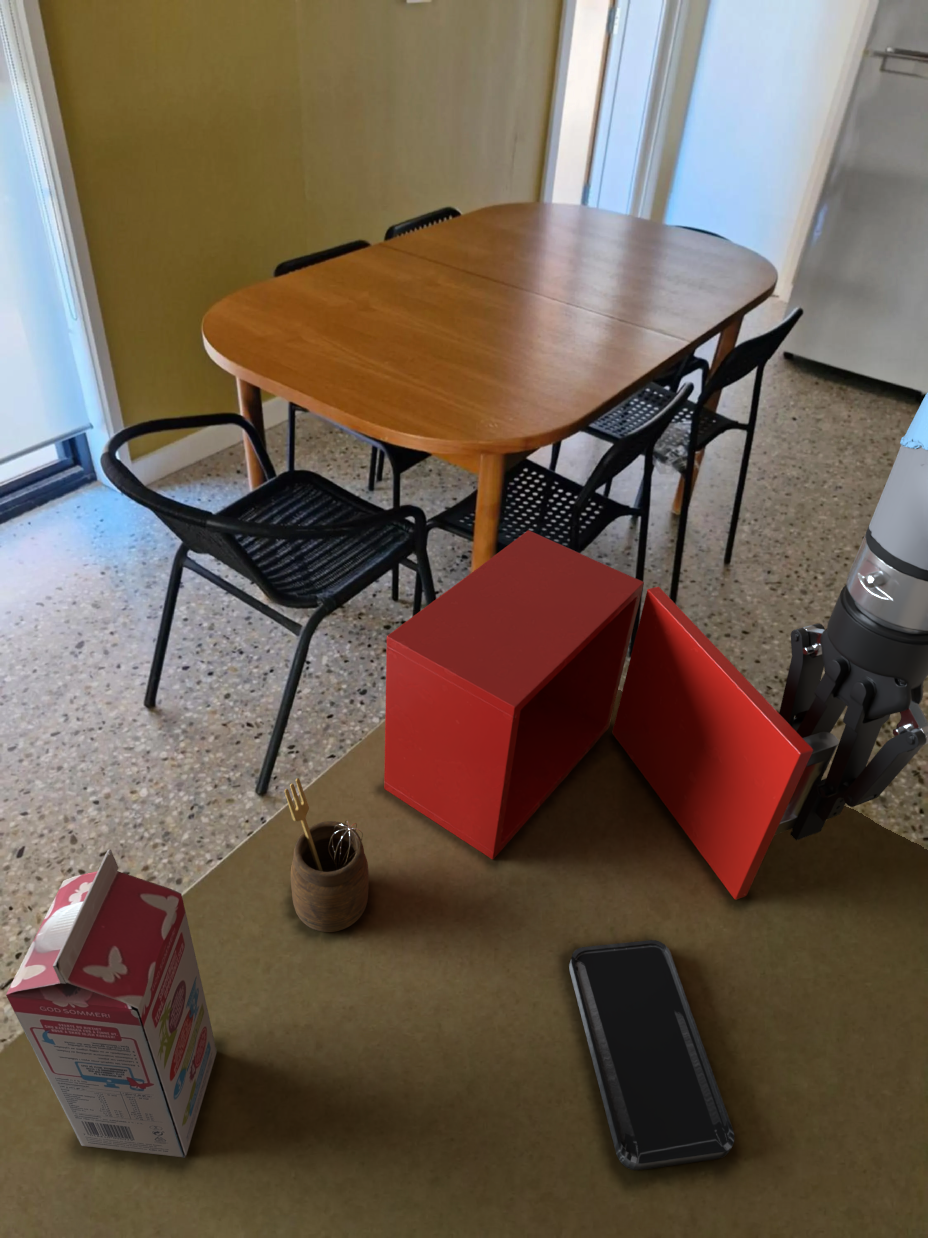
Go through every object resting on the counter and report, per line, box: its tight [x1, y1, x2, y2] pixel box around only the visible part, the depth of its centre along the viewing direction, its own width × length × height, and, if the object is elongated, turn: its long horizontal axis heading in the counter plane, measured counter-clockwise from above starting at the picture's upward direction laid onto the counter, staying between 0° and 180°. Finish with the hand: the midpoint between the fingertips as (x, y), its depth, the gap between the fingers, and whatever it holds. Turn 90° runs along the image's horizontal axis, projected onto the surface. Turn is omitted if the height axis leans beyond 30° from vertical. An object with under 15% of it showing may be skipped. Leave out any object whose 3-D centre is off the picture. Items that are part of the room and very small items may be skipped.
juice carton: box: [5, 849, 218, 1158], centre depth 51 cm, size 7×7×22 cm
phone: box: [568, 939, 735, 1171], centre depth 62 cm, size 8×1×15 cm
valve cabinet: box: [383, 529, 645, 860], centre depth 78 cm, size 12×20×18 cm, turn 143°
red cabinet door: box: [611, 586, 840, 901], centre depth 76 cm, size 8×20×18 cm, turn 23°
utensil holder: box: [284, 777, 370, 933], centre depth 67 cm, size 6×6×12 cm
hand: (796, 821), depth 76 cm, fingers closed on red cabinet door, 2 cm apart
